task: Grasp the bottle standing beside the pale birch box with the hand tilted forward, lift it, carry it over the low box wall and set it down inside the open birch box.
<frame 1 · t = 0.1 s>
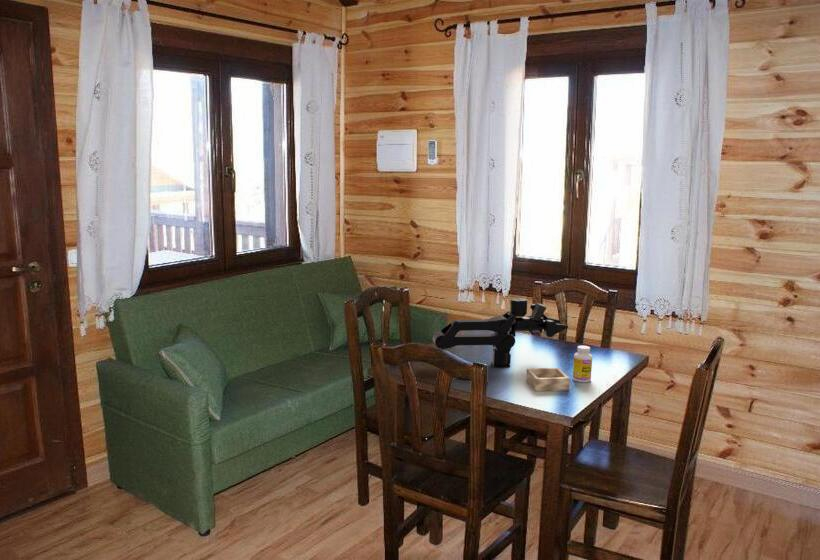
hand: (563, 324, 281), 17 cm above the table, tool horizontal, fingers open, 9 cm apart
supplement bottle: (581, 380, 263), on the table
birch box: (547, 385, 257), on the table
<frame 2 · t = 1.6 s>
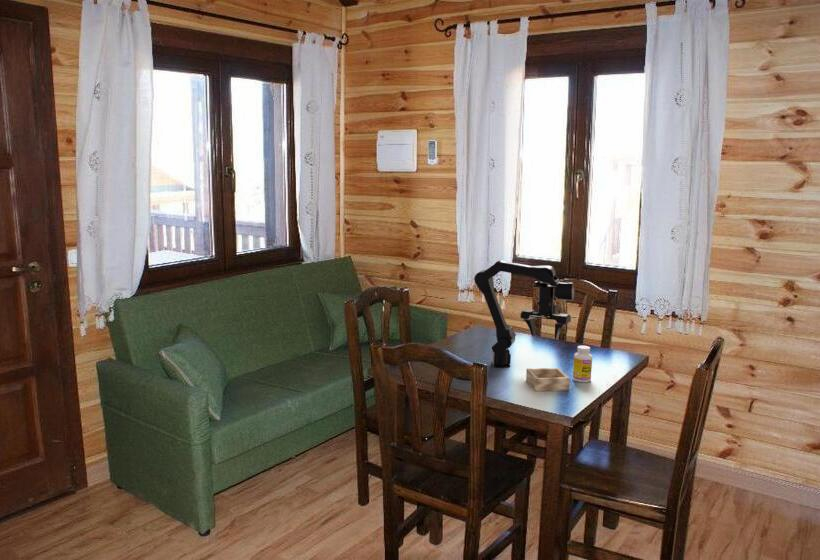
hand: (544, 338, 273), 13 cm above the table, tool pointing down, fingers open, 9 cm apart
nothing on the table moved.
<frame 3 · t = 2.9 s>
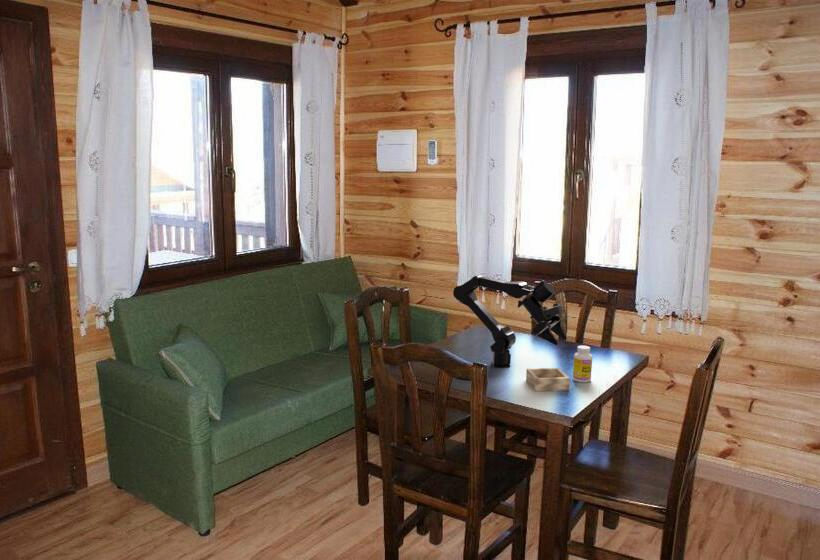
hand: (561, 341, 266), 13 cm above the table, tool tilted 45°, fingers open, 9 cm apart
nothing on the table moved.
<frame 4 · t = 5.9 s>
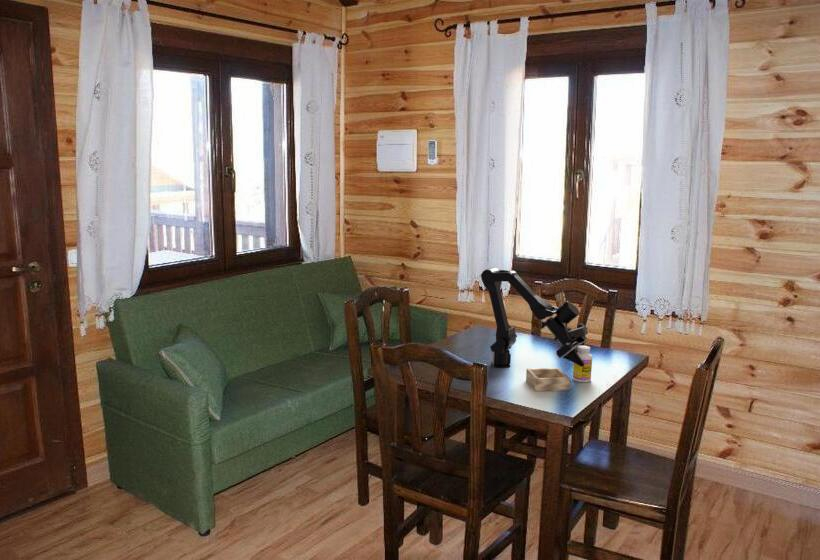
hand: (586, 363, 262), 7 cm above the table, tool tilted 45°, fingers closed on supplement bottle, 7 cm apart
supplement bottle: (581, 380, 263), on the table, touching gripper
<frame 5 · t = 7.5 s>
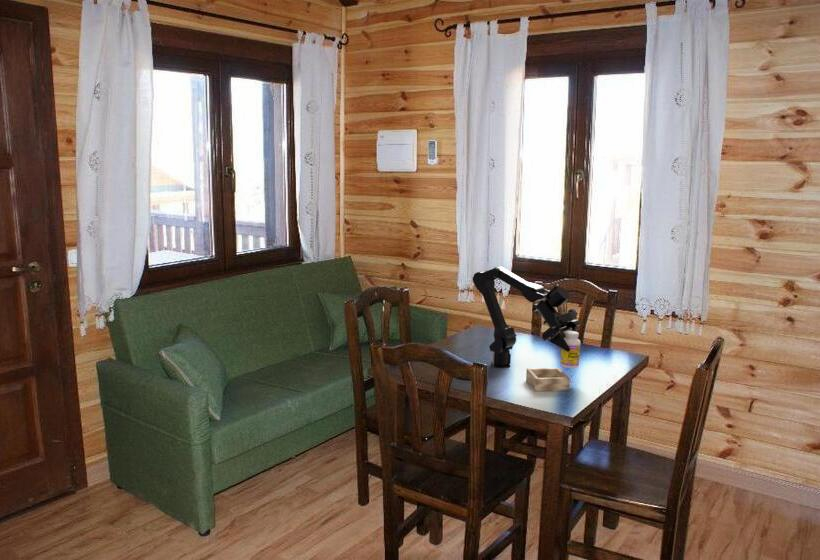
hand: (574, 349, 257), 13 cm above the table, tool tilted 45°, fingers closed on supplement bottle, 7 cm apart
supplement bottle: (569, 366, 259), point 6 cm above the table, touching gripper
when the fingers open (9 cm above the table, at t = 9.4 s): supplement bottle drops 1 cm, resting on birch box.
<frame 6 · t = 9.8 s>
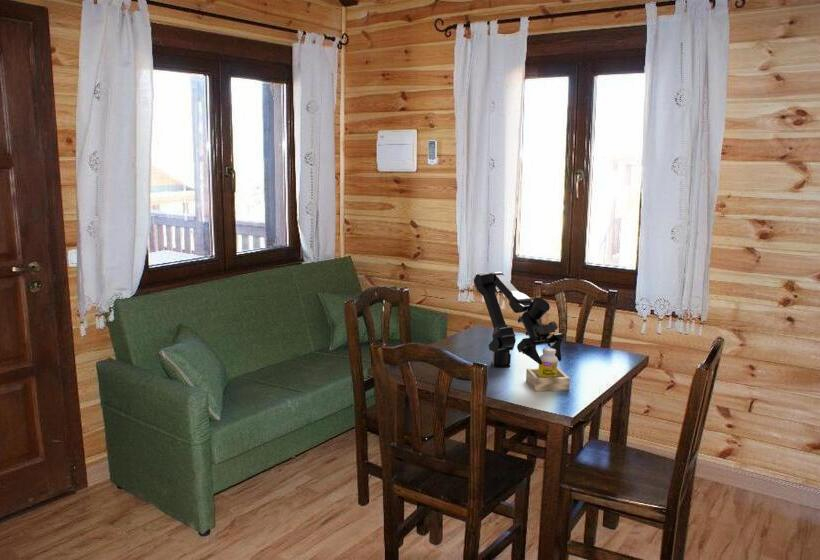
hand: (550, 362, 254), 9 cm above the table, tool tilted 45°, fingers open, 9 cm apart
supplement bottle: (546, 383, 257), point 1 cm above the table, touching birch box
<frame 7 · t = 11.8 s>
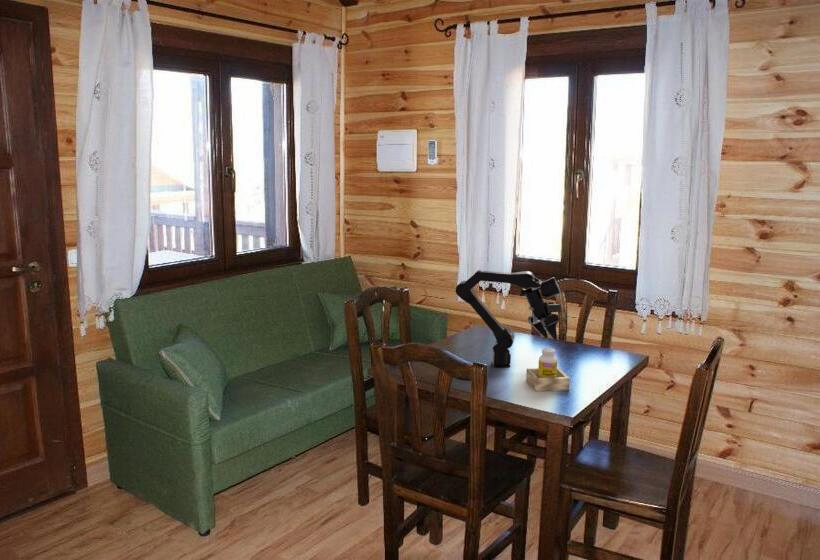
hand: (551, 338, 274), 12 cm above the table, tool tilted 25°, fingers open, 9 cm apart
nothing on the table moved.
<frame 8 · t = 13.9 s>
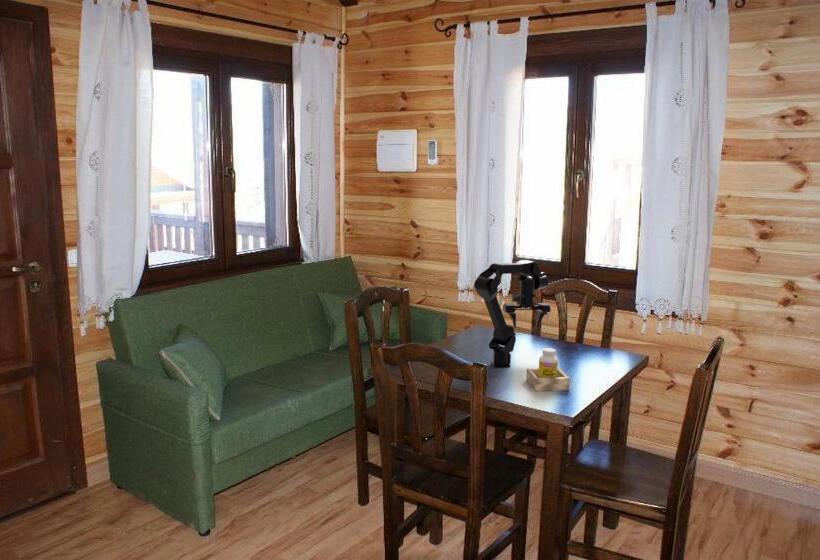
hand: (525, 328, 288), 13 cm above the table, tool pointing down, fingers open, 9 cm apart
nothing on the table moved.
at the end: supplement bottle inside the target area on the birch box (0.1 cm from its centre), point 0.4 cm above the birch box's base; supplement bottle tilted 1°; the gripper is holding nothing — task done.
